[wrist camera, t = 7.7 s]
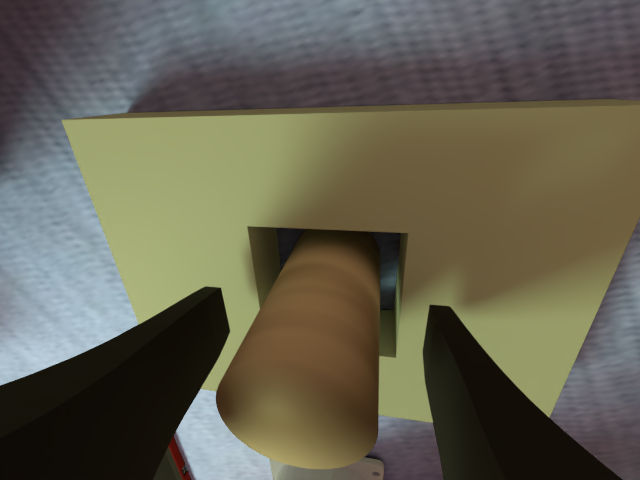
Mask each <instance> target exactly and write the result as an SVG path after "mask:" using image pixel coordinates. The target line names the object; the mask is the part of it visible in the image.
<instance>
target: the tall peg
mask: <svg viewBox="0 0 640 480" xmlns="http://www.w3.org/2000/svg"><path fill="white" fill-rule="evenodd" d="M380 272H381V256H380V250H379V246H378V244H377V242H376V240H375V238H374V237H373V236H372V234H371V233H370V232H369V231H347V230H324V229H306V230H305V231H304V232H303V233H302V234H301V236H300V238H299V239H298V241H297V243H296V245H295V247H294V248H293V250H292V252H291V254H290V256H289V258H288V259H287V261H286V263H285V265H284V267H283V268H282V270H281V272H280V274H279V276H278V278H277V279H276V281H275V283H274V285H273V287H272V288H271V290H270V292H269V294H268V296H267V298H266V299H265V301H264V303H263V305H262V307H261V309H260V310H259V312H258V314H257V316H256V318H255V319H254V321H253V323H252V325H251V327H250V329H249V330H248V332H247V334H246V336H245V338H244V339H243V341H242V343H241V345H240V347H239V349H238V350H237V352H236V354H235V356H234V358H233V359H232V361H231V363H230V365H229V367H228V369H227V370H226V372H225V374H224V376H223V378H222V379H221V381H220V383H219V385H218V388H217V392H216V404H217V408H218V411H219V414H220V416H221V418H222V420H223V421H224V423H225V425H226V426H227V427H228V428H229V430H230V431H231V432H232V433H233V434H234V435H235V436H236V437H237V438H238V439H239V440H241V441H242V442H243V443H244V444H246V445H247V446H248V447H250V448H251V449H253V450H255V451H256V452H258V453H260V454H262V455H264V456H266V457H268V458H270V459H273V460H275V461H278V462H281V463H284V464H287V465H291V466H295V467H301V468H308V469H333V468H340V467H344V466H348V465H350V464H353V463H355V462H357V461H359V460H361V459H362V458H364V457H365V456H366V455H367V454H368V453H369V452H370V451H371V450H372V448H373V447H374V445H375V443H376V440H377V437H378V408H379V340H380Z"/></svg>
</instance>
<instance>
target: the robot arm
mask: <svg viewBox="0 0 640 480" xmlns="http://www.w3.org/2000/svg"><path fill="white" fill-rule="evenodd" d="M229 333H230V327H229V323H228V318H227V313H226V309H225V304H224V299H223V295H222V290H221V288H220V287H208V286H205V287H203V288H201V289H199V290H197V291H196V292H194V293H192V294H190V295H189V296H187V297H185V298H183V299H182V300H180V301H178V302H177V303H175V304H173V305H172V306H170V307H168V308H167V309H165V310H163V311H162V312H160V313H158V314H156V315H155V316H153V317H151V318H150V319H148V320H146V321H144V322H142V323H141V324H139V325H137V326H135V327H133V328H131V329H130V330H128V331H126V332H124V333H122V334H121V335H119V336H117V337H115V338H113V339H111V340H109V341H107V342H105V343H103V344H101V345H99V346H97V347H95V348H92V349H90V350H88V351H86V352H84V353H82V354H80V355H77V356H75V357H73V358H70V359H68V360H66V361H63V362H61V363H58V364H56V365H53V366H51V367H48V368H46V369H43V370H41V371H39V372H36V373H34V374H31V375H28V376H26V377H23V378H20V379H17V380H15V381H12V382H9V383H6V384H4V385H1V386H0V480H153V478H154V476H155V474H156V472H157V470H158V467H159V465H160V463H161V461H162V459H163V457H164V455H165V452H166V450H167V448H168V446H169V444H170V442H171V440H172V438H173V436H174V434H175V432H176V430H177V428H178V426H179V424H180V422H181V421H182V419H183V417H184V415H185V414H186V412H187V410H188V409H189V407H190V405H191V404H192V402H193V400H194V399H195V397H196V395H197V394H198V392H199V390H200V389H201V387H202V385H203V384H204V382H205V380H206V379H207V377H208V375H209V374H210V372H211V370H212V369H213V367H214V365H215V364H216V362H217V360H218V358H219V356H220V354H221V352H222V350H223V348H224V345H225V343H226V341H227V338H228V336H229ZM423 365H424V376H425V385H426V390H427V395H428V400H429V405H430V410H431V415H432V420H433V425H434V430H435V435H436V440H437V445H438V449H439V454H440V460H441V466H442V472H443V479H444V480H622V479H621V478H620V477H619V476H617V475H616V474H615V473H614V472H612V471H611V470H610V469H608V468H607V467H606V466H605V465H603V464H602V463H601V462H600V461H599V460H597V459H596V458H595V457H594V456H593V455H591V454H590V453H589V452H588V451H587V450H586V449H584V448H583V447H582V446H581V445H580V444H578V443H577V442H576V441H575V440H574V439H572V438H571V437H570V436H569V435H568V434H567V433H566V432H564V431H563V430H562V429H561V428H560V427H559V426H558V425H556V424H555V423H554V422H553V421H552V420H551V419H550V418H549V417H548V416H547V415H546V414H545V413H544V412H543V411H541V410H540V409H539V408H538V407H537V406H536V405H535V404H534V403H533V402H532V401H531V400H530V399H529V398H528V397H527V396H526V395H525V394H524V393H523V392H522V391H521V390H520V389H519V388H518V387H517V386H516V385H515V384H514V383H513V382H512V381H511V380H510V378H509V377H508V376H507V375H506V374H505V373H504V372H503V371H502V370H501V369H500V367H499V366H498V365H497V364H496V363H495V362H494V361H493V359H492V358H491V357H490V356H489V355H488V354H487V352H486V351H485V350H484V349H483V348H482V346H481V345H480V344H479V343H478V342H477V340H476V339H475V338H474V337H473V335H472V334H471V333H470V332H469V330H468V329H467V328H466V326H465V325H464V324H463V322H462V321H461V320H460V318H459V317H458V316H457V314H456V313H455V312H454V310H453V309H452V308H451V307H450V306H442V305H429V312H428V318H427V325H426V332H425V338H424V345H423ZM269 459H270V458H269ZM270 465H271V470H272V475H273V480H383V475H384V464H383V463H382V461H380V460H377V459H372V458H366V457H364V458H362V459H361V460H359V461H357V462H355V463H353V464H350V465H348V466H344V467H340V468H333V469H308V468H301V467H295V466H291V465H287V464H284V463H281V462H278V461H275V460H273V459H270Z"/></svg>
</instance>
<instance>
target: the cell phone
mask: <svg viewBox="0 0 640 480" xmlns="http://www.w3.org/2000/svg"><path fill="white" fill-rule="evenodd" d="M184 465H185V463H184V461H183V458H182V456H181V454H180V451H179V449H178V446H177V444H176V441H175V439H174V437H173V438H172V440H171V442H170V444H169V446H168V448H167V450H166V452H165V455H164V457H163V459H162V461H161V463H160V465H159V467H158V470H157V472H156V474H155V476H154V478H153V480H191V478H190V476H189V473H188V471H186V469H185V466H184Z"/></svg>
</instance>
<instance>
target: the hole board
mask: <svg viewBox="0 0 640 480" xmlns="http://www.w3.org/2000/svg"><path fill="white" fill-rule="evenodd" d="M62 123H63V125H64V128H65V131H66V133H67V136H68V139H69V141H70V144H71V146H72V149H73V152H74V154H75V157H76V160H77V162H78V165H79V168H80V170H81V173H82V175H83V178H84V181H85V183H86V186H87V189H88V191H89V194H90V197H91V199H92V202H93V205H94V207H95V210H96V212H97V215H98V218H99V220H100V223H101V226H102V228H103V231H104V234H105V236H106V239H107V241H108V244H109V247H110V249H111V252H112V255H113V257H114V260H115V263H116V265H117V268H118V270H119V273H120V276H121V278H122V281H123V284H124V286H125V289H126V292H127V294H128V297H129V299H130V302H131V305H132V307H133V310H134V313H135V315H136V318H137V321H138V323H139V324H141V323H142V322H144V321H146V320H148V319H150V318H151V317H153V316H155V315H156V314H158V313H160V312H162V311H163V310H165V309H167V308H168V307H170V306H172V305H173V304H175V303H177V302H178V301H180V300H182V299H183V298H185V297H187V296H189V295H190V294H192V293H194V292H196V291H197V290H199V289H201V288H203V287H205V286H208V287H220V288H221V290H222V295H223V299H224V304H225V309H226V313H227V318H228V323H229V327H230V333H229V336H228V338H227V341H226V343H225V345H224V348H223V350H222V352H221V354H220V356H219V358H218V360H217V362H216V364H215V365H214V367H213V369H212V370H211V372H210V374H209V375H208V377H207V379H206V380H205V382H204V384H203V385H202V387H201V389H204V390H211V391H217V388H218V385H219V383H220V381H221V379H222V378H223V376H224V374H225V372H226V370H227V369H228V367H229V365H230V363H231V361H232V359H233V358H234V356H235V354H236V352H237V350H238V349H239V347H240V345H241V343H242V341H243V339H244V338H245V336H246V334H247V332H248V330H249V329H250V327H251V325H252V323H253V321H254V319H255V318H256V316H257V314H258V312H259V310H260V309H261V307H262V305H263V303H264V301H265V299H266V298H267V296H268V294H269V292H270V290H271V288H272V287H273V285H274V283H275V281H276V279H277V278H278V276H279V274H280V272H281V265H280V256H279V247H278V238H277V228H300V229H324V230H347V231H371V232H394V233H401V235H400V246H399V258H398V269H397V281H396V292H395V304H394V311H392V310H381V309H380V340H379V408H378V415H383V416H390V417H397V418H403V419H410V420H417V421H424V422H431V423H433V420H432V415H431V410H430V405H429V400H428V395H427V390H426V385H425V376H424V365H423V345H424V338H425V332H426V325H427V318H428V312H429V305H442V306H450V307H451V308H452V309H453V310H454V312H455V313H456V314H457V316H458V317H459V318H460V320H461V321H462V322H463V324H464V325H465V326H466V328H467V329H468V330H469V332H470V333H471V334H472V335H473V337H474V338H475V339H476V340H477V342H478V343H479V344H480V345H481V346H482V348H483V349H484V350H485V351H486V352H487V354H488V355H489V356H490V357H491V358H492V359H493V361H494V362H495V363H496V364H497V365H498V366H499V367H500V369H501V370H502V371H503V372H504V373H505V374H506V375H507V376H508V377H509V378H510V380H511V381H512V382H513V383H514V384H515V385H516V386H517V387H518V388H519V389H520V390H521V391H522V392H523V393H524V394H525V395H526V396H527V397H528V398H529V399H530V400H531V401H532V402H533V403H534V404H535V405H536V406H537V407H538V408H539V409H540V410H541V411H543V412H544V413H545V414H546V415H547V416H548V417H550V415H551V413H552V411H553V408H554V406H555V404H556V402H557V400H558V397H559V395H560V393H561V391H562V389H563V386H564V384H565V382H566V380H567V377H568V375H569V373H570V371H571V369H572V366H573V364H574V362H575V360H576V357H577V355H578V353H579V351H580V349H581V346H582V344H583V342H584V340H585V338H586V335H587V333H588V331H589V329H590V326H591V324H592V322H593V320H594V318H595V315H596V313H597V311H598V309H599V307H600V304H601V302H602V300H603V298H604V295H605V293H606V291H607V289H608V287H609V284H610V282H611V280H612V278H613V276H614V273H615V271H616V269H617V267H618V264H619V262H620V260H621V258H622V256H623V253H624V251H625V249H626V247H627V245H628V242H629V240H630V238H631V236H632V233H633V231H634V229H635V227H636V225H637V222H638V220H639V218H640V101H636V100H620V99H590V100H555V101H521V102H486V103H452V104H417V105H383V106H348V107H314V108H279V109H245V110H210V111H176V112H141V113H121V114H111V115H102V116H93V117H84V118H74V119H65V120H62Z"/></svg>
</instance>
